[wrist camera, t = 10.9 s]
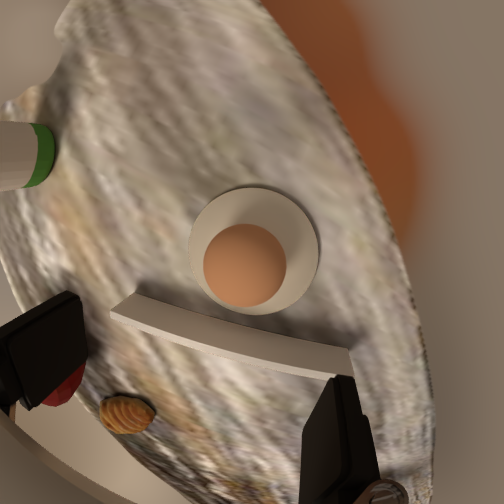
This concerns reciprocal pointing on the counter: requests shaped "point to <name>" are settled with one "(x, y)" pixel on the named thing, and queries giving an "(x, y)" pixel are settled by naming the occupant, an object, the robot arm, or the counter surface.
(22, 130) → the wine bottle
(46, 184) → the counter surface
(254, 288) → the ball
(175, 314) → the wall
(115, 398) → the pastry
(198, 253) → the saucer
